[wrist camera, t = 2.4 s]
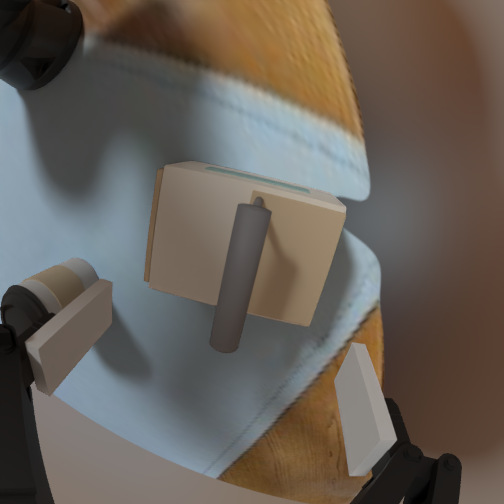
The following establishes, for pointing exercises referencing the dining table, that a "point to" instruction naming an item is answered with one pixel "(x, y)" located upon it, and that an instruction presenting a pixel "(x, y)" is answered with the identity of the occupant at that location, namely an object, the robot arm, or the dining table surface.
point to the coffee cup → (46, 293)
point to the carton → (205, 224)
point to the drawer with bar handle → (274, 264)
